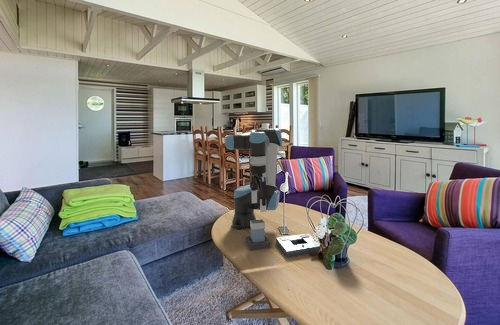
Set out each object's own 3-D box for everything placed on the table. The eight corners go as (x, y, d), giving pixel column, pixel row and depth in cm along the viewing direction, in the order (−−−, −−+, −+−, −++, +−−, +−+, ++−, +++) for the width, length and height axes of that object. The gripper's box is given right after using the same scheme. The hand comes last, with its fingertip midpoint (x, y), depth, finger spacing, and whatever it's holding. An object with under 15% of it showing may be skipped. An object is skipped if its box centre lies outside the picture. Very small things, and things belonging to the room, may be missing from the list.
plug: (250, 243, 131) (250, 220, 129) (262, 241, 133) (262, 219, 131) (252, 247, 127) (252, 223, 125) (265, 245, 129) (264, 222, 127)
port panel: (275, 245, 130) (275, 236, 130) (308, 240, 135) (308, 232, 134) (286, 259, 117) (286, 249, 116) (322, 253, 122) (322, 244, 121)
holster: (245, 243, 133) (245, 236, 133) (264, 240, 136) (264, 234, 135) (250, 252, 124) (250, 245, 123) (270, 249, 126) (270, 242, 126)
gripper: (243, 161, 134) (244, 200, 137) (258, 169, 110) (259, 217, 114) (257, 160, 136) (257, 198, 140) (275, 168, 112) (275, 214, 116)
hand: (258, 207), depth 127 cm, fingers open, 13 cm apart
